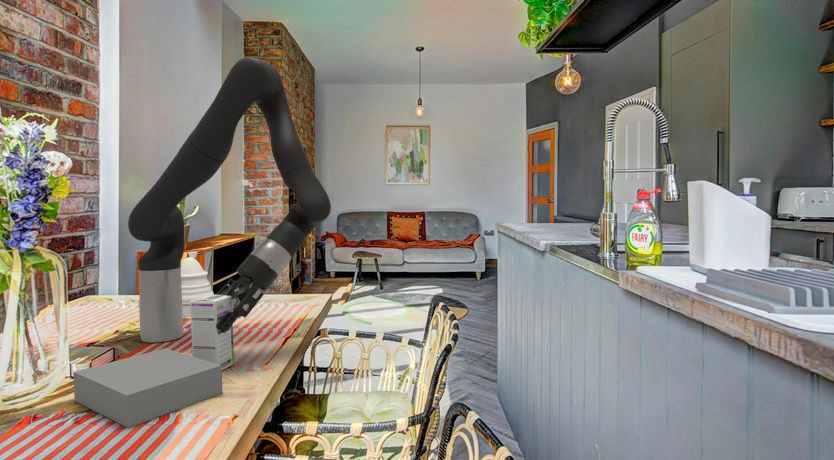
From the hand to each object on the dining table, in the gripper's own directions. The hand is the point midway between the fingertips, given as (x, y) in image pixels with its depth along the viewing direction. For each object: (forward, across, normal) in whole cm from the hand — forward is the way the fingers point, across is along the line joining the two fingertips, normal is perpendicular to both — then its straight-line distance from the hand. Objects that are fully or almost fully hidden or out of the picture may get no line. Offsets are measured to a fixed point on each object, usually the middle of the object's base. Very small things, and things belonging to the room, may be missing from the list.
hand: (212, 326), depth 100 cm
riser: (+15, +8, -3) cm, 18 cm away
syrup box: (+6, 0, +6) cm, 9 cm away
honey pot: (-3, -55, +15) cm, 57 cm away
